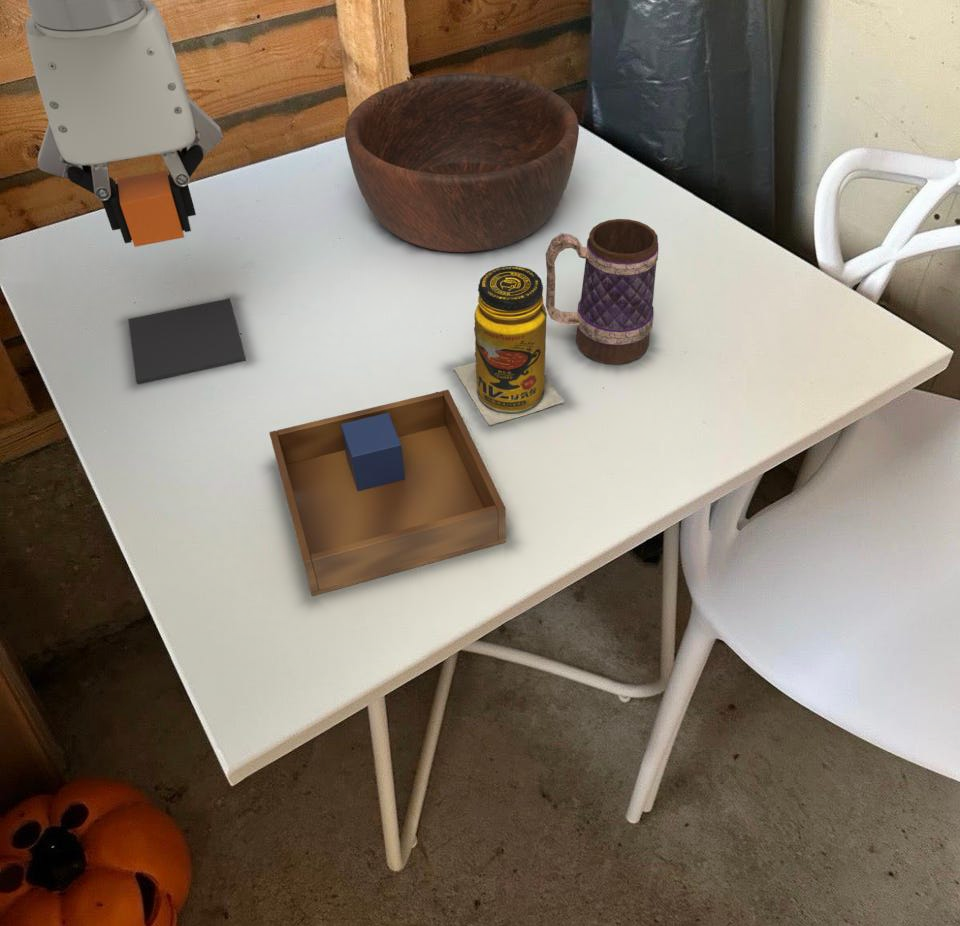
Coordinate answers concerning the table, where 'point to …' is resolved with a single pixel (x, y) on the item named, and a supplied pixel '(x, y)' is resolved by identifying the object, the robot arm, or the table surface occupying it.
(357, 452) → the blue cube
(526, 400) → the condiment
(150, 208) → the orange cube
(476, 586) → the table surface
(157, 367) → the mat
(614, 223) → the mug
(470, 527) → the tray
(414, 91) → the wooden bowl
